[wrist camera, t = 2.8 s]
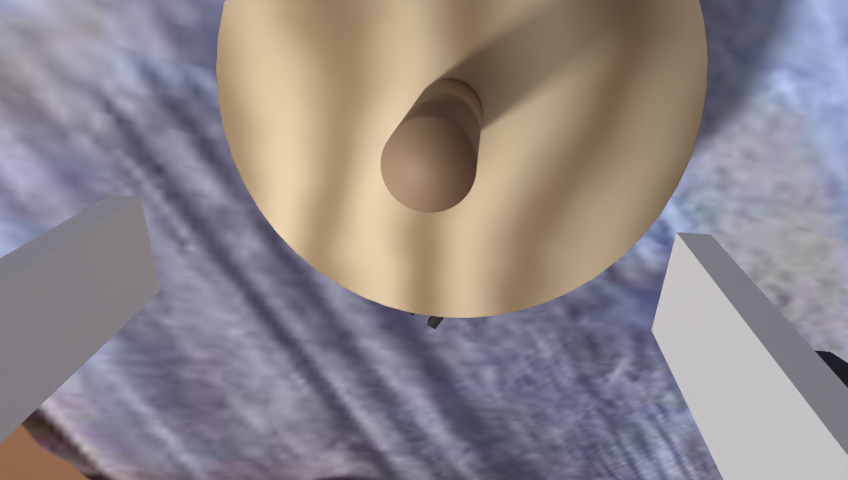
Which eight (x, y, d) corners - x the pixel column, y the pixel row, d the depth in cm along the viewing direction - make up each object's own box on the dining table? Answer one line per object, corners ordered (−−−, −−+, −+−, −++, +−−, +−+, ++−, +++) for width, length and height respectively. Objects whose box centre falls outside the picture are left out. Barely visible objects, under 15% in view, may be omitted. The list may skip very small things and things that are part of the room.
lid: (250, 291, 37) (160, 403, 27) (191, -180, 26) (1, -286, 16) (645, 326, 34) (706, 463, 24) (766, -181, 23) (966, -306, 13)
